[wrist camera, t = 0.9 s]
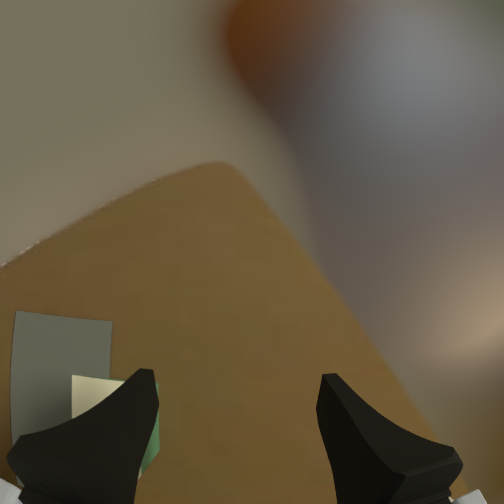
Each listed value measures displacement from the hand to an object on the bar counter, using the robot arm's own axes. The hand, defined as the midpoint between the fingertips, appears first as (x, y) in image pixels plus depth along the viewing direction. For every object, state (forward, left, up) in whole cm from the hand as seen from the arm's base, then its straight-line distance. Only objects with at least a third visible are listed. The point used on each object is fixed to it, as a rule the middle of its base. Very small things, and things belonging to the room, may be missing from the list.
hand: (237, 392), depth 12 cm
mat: (-4, +15, -13) cm, 20 cm away
